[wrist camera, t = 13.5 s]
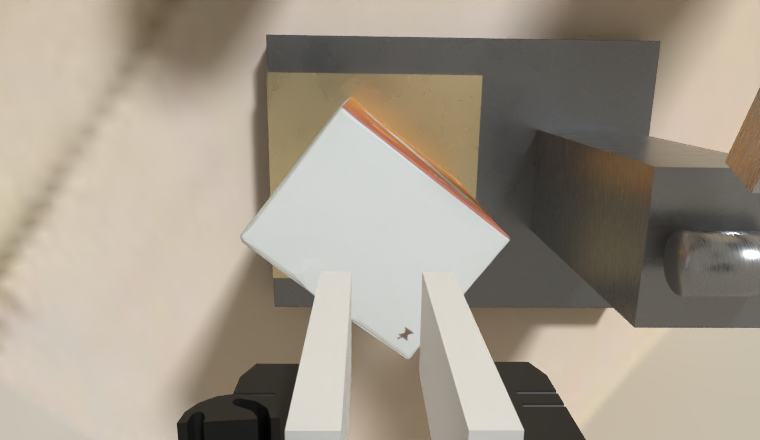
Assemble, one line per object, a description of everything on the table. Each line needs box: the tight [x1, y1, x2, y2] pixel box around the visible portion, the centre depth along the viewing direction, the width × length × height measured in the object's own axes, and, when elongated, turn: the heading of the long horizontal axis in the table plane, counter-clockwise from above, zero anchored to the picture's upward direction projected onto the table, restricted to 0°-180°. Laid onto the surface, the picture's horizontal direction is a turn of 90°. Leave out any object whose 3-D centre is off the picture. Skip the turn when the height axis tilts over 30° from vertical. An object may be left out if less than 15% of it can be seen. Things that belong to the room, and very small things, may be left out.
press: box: [266, 35, 760, 328], centre depth 29 cm, size 22×16×16 cm
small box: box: [240, 97, 510, 359], centre depth 28 cm, size 8×6×13 cm
